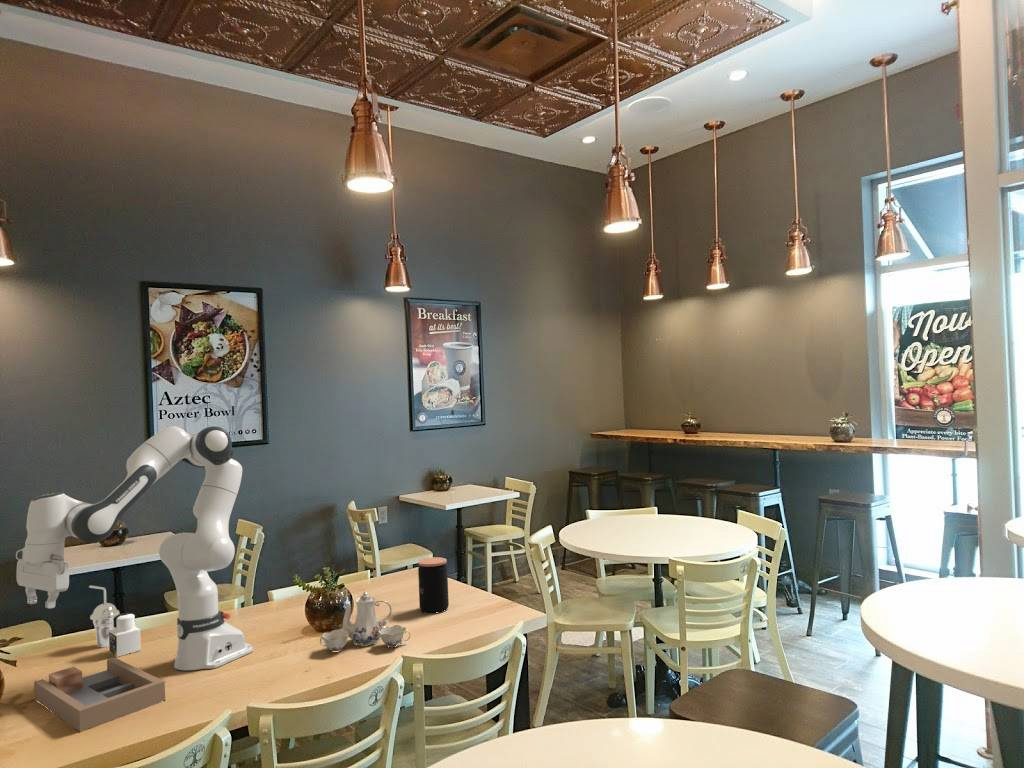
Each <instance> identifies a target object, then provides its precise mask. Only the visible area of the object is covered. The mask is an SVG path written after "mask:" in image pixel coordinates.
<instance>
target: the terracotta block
mask: <svg viewBox="0 0 1024 768" xmlns="http://www.w3.org/2000/svg"><path fill="white" fill-rule="evenodd" d="M82 678H83V671H82V670H81V669H78V668H77V667H76V666H72V667H71V666H70V667H67V668H64V669H61V670H58V671H54V672H52V673H48V683H50V684H52V685H53V686H55V687H56V688H58V689H60V690H61V691H63V692H64V693H68V692H71V691H74V690H77V689H80V688H82Z"/></svg>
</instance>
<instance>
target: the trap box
mask: <svg viewBox="0 0 1024 768" xmlns="http://www.w3.org/2000/svg"><path fill="white" fill-rule="evenodd" d="M33 684H34V686H33V688H34V689H33V690H34V692H33V693H34V695H33V696H34V700H35V699H36V700H37V701H39V702H40V703H41V704H43V705H44V706H46V707H47V708H48V709H49V710H51V711H52V712H53V713H52V712H51V711H50V712H51V713H52V714H53V715H55V714H56V715H57V716H56V715H55V716H56V717H58V718H59V717H60V718H59V719H60V720H62V719H63V720H62V721H63V722H65V723H66V722H67V723H66V724H68V725H69V726H70V727H72V728H73V729H75V730H77V731H78V732H79V733H81V731H82V732H85V731H86V730H90V729H92V728H94V727H97V725H98V726H100V724H101V725H103V724H107V723H108V722H111V721H114V720H116V719H119V718H122V717H124V716H127V715H129V714H133V713H136V712H137V711H138V712H139V711H140V709H141V710H143V708H144V709H146V708H148V706H149V707H151V705H152V706H155V705H157V704H159V703H158V702H160V703H162V702H161V701H163V702H165V701H166V685H165V684H166V683H165V680H163V679H160V678H159V677H156V676H155V675H152V674H150V673H147V672H145V671H143V670H142V669H140V668H138V667H135V666H133V665H131V664H129V663H127V662H125V661H122V660H121V659H118V657H116V656H114V657H110V658H108V659H106V669H105V670H103V671H100V672H96V673H93V674H90V675H87V676H82V688H80V689H77V690H74V691H71V692H68V693H64V692H63V691H61V690H60V689H58V688H56V687H55V686H53V685H52V684H50V683H49V681H47V680H45V679H43V678H42V679H39V680H35V681H34V682H33ZM164 700H165V701H164ZM156 703H157V704H156ZM41 704H40V705H41ZM48 709H47V710H48ZM49 710H48V711H49ZM89 728H90V729H89Z"/></svg>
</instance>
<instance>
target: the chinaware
mask: <svg viewBox="0 0 1024 768" xmlns="http://www.w3.org/2000/svg"><path fill="white" fill-rule="evenodd" d="M354 602H355V603H356V616H355V620H354V621H355V622H354V623H351V613H352V609H351V605H350V603H349V602H348V601H346V600H345V601H343V602H342V603H343V604H344V605H345V612H344V616H343V620H342V630H341V629H332V630H331V631H330V632H323V633H322V634H321V637H320V639H319V643H320V645H321V646H322V647H326V648H327V650H330V651H339V650H342V649H343V648H344V647H345V645H346V644H347V641H348V638H349V639H351V640H352V641H353V644H354V643H355V644H357V645H369V646H372V645H371V644H373V645H375V644H374V643H376V644H378V643H379V642H380V641H382V642H383V643H384V645H386V646H387V649H390V648H389V647H395V646H396V645H397V646H398V644H399V645H401V644H403V642H404V641H406V642H407V641H409V640H410V638H411V633H410V631H409V630H407V627H405V626H404V627H402V625H400V624H395V625H392V626H389V625H388V626H386V625H387V619H389V618H390V616H391V615H392V611H393V610H392V605H391V603H389V601H387V600H383V599H379V600H377V601H376V597H375V596H371V595H370V594H368V592H367V591H366V590H364V591H363V593H362V595H360V596H359V598H356V599H355V600H354ZM380 603H385V604H387V606H388V607H389V612H388V615H387V616H386V617H383V618H382V619H379V620H378V617H377V614H376V610H375V606H376V607H378V608H379V607H380V605H381V604H380ZM406 633H408V634H409V635H408V638H407V639H403V637H404V634H406ZM379 640H380V641H379ZM322 641H323V643H324V644H323V643H322ZM378 641H379V642H378ZM402 641H403V642H402ZM377 642H378V643H377ZM355 644H354V645H355ZM357 645H356V646H357ZM388 646H389V647H388ZM395 648H396V647H395Z"/></svg>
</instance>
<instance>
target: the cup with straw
mask: <svg viewBox="0 0 1024 768" xmlns="http://www.w3.org/2000/svg"><path fill="white" fill-rule="evenodd" d="M88 588H90V589H96V590H97V589H98V590H103V603H101V604H99V605H98V606H96V607H95V608H94V609H93V612H92V613H91V615H90V617H89V619H90V620H92V624H93V626H94V631H95V637H96V644H97V648H99V647H104V648H108V647H109V631H110V630H114V623H113V618H114V617H115V616H117V615H119V614H121V613H120V610H118V609H117V607H116V605H114V604H113V603H110V602H107V589H106V587H102V586H96V585H92V584H91V585H89V586H88Z"/></svg>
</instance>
